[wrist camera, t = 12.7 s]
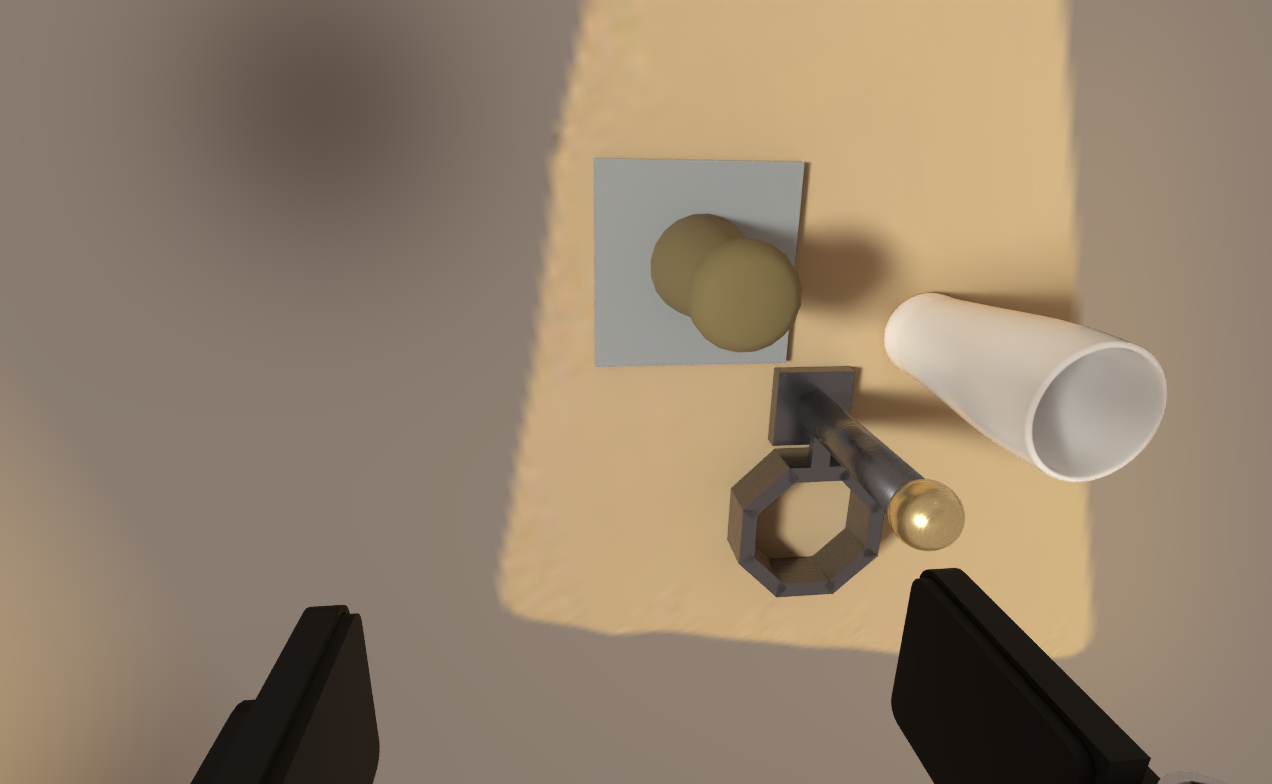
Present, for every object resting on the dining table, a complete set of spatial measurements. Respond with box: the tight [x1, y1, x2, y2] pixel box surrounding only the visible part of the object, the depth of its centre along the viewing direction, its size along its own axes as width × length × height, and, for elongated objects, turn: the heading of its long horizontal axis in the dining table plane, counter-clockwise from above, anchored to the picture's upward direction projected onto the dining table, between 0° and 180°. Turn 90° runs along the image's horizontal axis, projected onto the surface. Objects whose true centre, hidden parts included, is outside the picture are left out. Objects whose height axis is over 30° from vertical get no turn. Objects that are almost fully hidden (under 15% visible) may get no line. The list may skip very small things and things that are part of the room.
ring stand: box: [727, 366, 965, 597], centre depth 38 cm, size 15×10×16 cm, turn 179°
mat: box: [594, 158, 805, 367], centre depth 39 cm, size 12×12×1 cm
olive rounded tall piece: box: [651, 214, 801, 353], centre depth 34 cm, size 6×6×11 cm
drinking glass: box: [884, 293, 1167, 482], centre depth 36 cm, size 7×7×15 cm
